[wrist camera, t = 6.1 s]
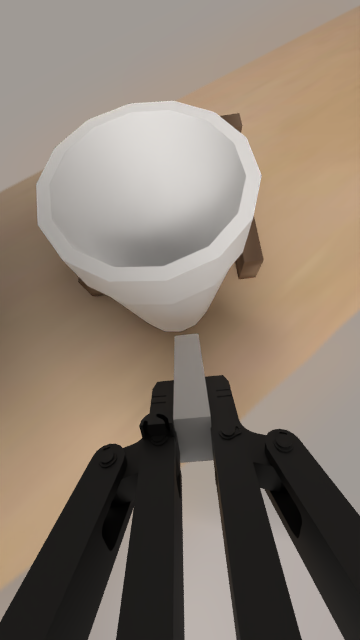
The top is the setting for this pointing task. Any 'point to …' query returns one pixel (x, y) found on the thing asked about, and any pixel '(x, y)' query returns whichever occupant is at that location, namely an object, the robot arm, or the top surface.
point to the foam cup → (151, 207)
